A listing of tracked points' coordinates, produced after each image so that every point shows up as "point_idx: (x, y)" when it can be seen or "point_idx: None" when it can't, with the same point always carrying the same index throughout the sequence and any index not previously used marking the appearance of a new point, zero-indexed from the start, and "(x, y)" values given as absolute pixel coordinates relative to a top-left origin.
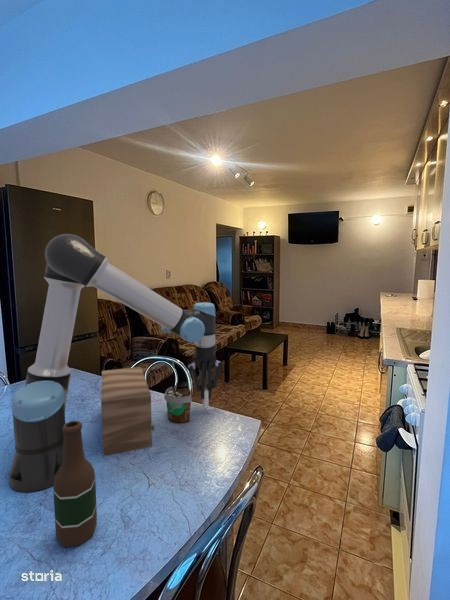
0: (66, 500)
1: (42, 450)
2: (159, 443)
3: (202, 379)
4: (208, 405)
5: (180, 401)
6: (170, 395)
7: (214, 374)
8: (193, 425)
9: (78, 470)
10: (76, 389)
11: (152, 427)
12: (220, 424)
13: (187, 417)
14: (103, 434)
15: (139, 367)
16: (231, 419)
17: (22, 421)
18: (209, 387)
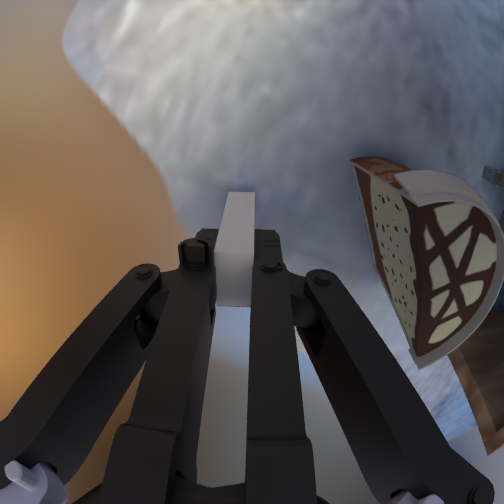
0: None
1: None
2: (493, 72)
3: (281, 357)
4: (227, 197)
5: (473, 190)
6: (476, 286)
7: (98, 386)
8: (345, 113)
9: None
10: (462, 409)
11: (496, 171)
12: (203, 66)
13: (371, 161)
14: None
15: (497, 449)
16: (131, 100)
17: None
18: (196, 273)
